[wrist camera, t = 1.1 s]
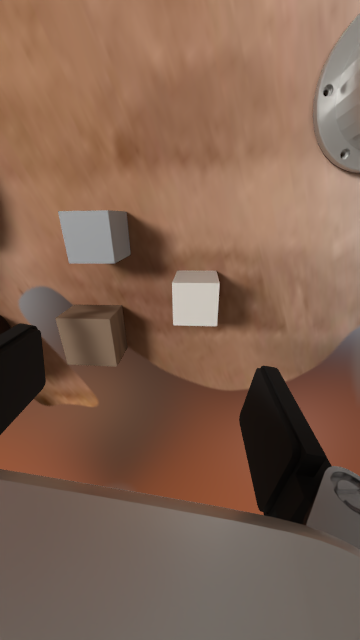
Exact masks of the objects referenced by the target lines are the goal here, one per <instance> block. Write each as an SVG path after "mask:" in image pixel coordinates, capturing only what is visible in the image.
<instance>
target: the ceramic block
mask: <svg viewBox="0 0 360 640" xmlns="http://www.w3.org/2000/svg"><path fill="white" fill-rule="evenodd" d="M219 287H220V283H219V279H218V275H217V272H216V271H177V273H176V275H175V277H174V280H173V282H172V296H173V325H187V326H217V319H218V303H219Z"/></svg>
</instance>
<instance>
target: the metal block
mask: <svg viewBox="0 0 360 640" xmlns="http://www.w3.org/2000/svg"><path fill="white" fill-rule="evenodd" d="M55 319H56V322H57V326H58V330H59V334H60V338H61V341H62V345H63V349H64V353H65V356H66V360H67V364H68V365H94V366H95V365H96V366H117V365H118V364H119V362H120V360H121V358H122V357H123V355H124V353H125V351H126V349H127V348H128V347H127V340H126V333H125V325H124V317H123V310H122V305H74V306H72V307H71V308H69V309H68V310H66V311H65V312H64V313H62V314H61V315H59V316H58V317H56V318H55Z"/></svg>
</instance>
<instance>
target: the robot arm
mask: <svg viewBox="0 0 360 640" xmlns="http://www.w3.org/2000/svg"><path fill="white" fill-rule="evenodd" d="M323 92H325V93H326V97H325V96H324V95H323ZM313 123H314V132H315V135H316V138H317V142H318V144H319V146H320V148H321V150H322V151H323V153H324V155H325V156H326V157H327V158H328V159H329V160H330V161H331V162H332V163H333V164H335V165H336V166H338V167H339V168H341V169H344V170H347V171H350V172H355V173H360V14H359V15H357V17H356V18H355V19H354V20H353V21H352V23H351V24H350V25H349V26H348V28H347V29H346V30H345V31H344V33H343V34H342V36H341V37H340V38H339V40H338V41H337V43H336V44H335V46H334V47H333V49H332V51H331V53H330V54H329V56H328V58H327V60H326V62H325V64H324V66H323V69H322V72H321V75H320V77H319V80H318V83H317V87H316V92H315V97H314V104H313ZM341 153H342V158H341V157H340V154H341ZM45 381H46V380H45V369H44V359H43V349H42V339H41V332H40V331H39V330H38V329H37V327H36V326H33V325H27V324H18V325H16V326H14V327H12V328H11V329H9V330H7V331H6V332H4V333H2V334H0V435H1V433H3V431H4V430H5V429H6V428H7V427H8V426H9V425H10V424H11V422H13V420H14V419H15V418H16V417H17V416H18V415H19V414H20V413H21V412H22V411H23V410H24V409H25V407H26V406H27V405H28V404H29V403H30V402H31V401H32V400H33V399H34V398H35V397H36V395H37V394H38V393H39V392H40V391H41V390H42V389H43V387H44V385H45ZM239 421H240V427H241V432H242V436H243V441H244V445H245V450H246V455H247V459H248V463H249V468H250V473H251V478H252V482H253V487H254V491H255V496H256V500H257V505H258V508H259V510H260V511H262V512H264V515H259V514H254V513H249V512H243V511H238V510H233V509H228V508H223V507H218V506H212V505H206V504H200V503H195V502H189V501H184V500H178V499H172V498H167V497H161V496H155V495H149V494H144V493H138V492H133V491H127V490H121V489H115V488H109V487H103V486H98V485H92V484H86V483H80V482H74V481H68V480H62V479H56V478H50V477H44V476H38V475H32V474H26V473H20V472H14V471H8V470H2V469H0V640H360V477H359V476H358V475H357V474H355V473H353V472H351V471H349V470H347V469H345V468H342V467H336V466H331V464H330V463H329V461H328V459H327V457H326V455H325V453H324V451H323V449H322V448H321V446H320V444H319V442H318V440H317V439H316V437H315V435H314V433H313V431H312V430H311V428H310V426H309V424H308V422H307V421H306V419H305V417H304V415H303V413H302V412H301V410H300V408H299V406H298V404H297V403H296V401H295V399H294V397H293V395H292V394H291V392H290V390H289V388H288V387H287V385H286V383H285V381H284V379H283V377H282V376H281V374H280V372H279V370H278V369H277V368H274V367H269V366H262V367H261V368H257V369H256V372H255V374H254V377H253V380H252V383H251V385H250V388H249V391H248V394H247V396H246V399H245V402H244V405H243V408H242V410H241V413H240V419H239Z"/></svg>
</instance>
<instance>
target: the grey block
mask: <svg viewBox="0 0 360 640" xmlns="http://www.w3.org/2000/svg"><path fill="white" fill-rule="evenodd" d="M58 213H59V218H60V223H61V227H62V232H63V237H64V242H65V246H66V251H67V256H68V260H69V263H116V262H118V261H120V260H122V259H124V258H126V257H128V256H129V255H131V252H130V242H129V232H128V222H127V212H123V211H58Z"/></svg>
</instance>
